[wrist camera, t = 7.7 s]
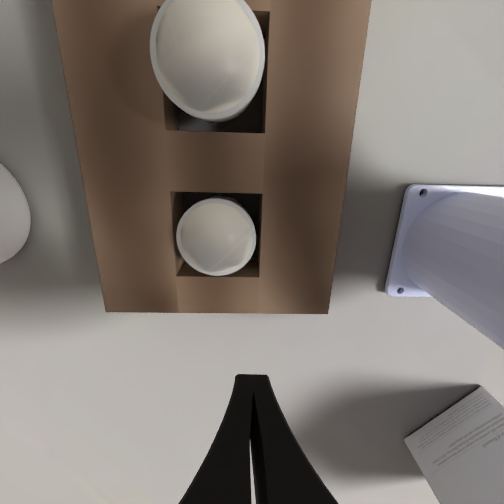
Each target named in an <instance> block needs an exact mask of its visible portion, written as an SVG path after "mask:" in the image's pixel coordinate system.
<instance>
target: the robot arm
mask: <svg viewBox="0 0 504 504" xmlns="http://www.w3.org/2000/svg"><path fill="white" fill-rule="evenodd" d="M422 189H423V190H424V193H423V194H422V195H421V196H420V195H419V193H420V191H421V190H422ZM398 288H401V290H399V291H397V290H398ZM385 292H386V293H387V294H388V295H389V296H402V297H433V298H435V299H436V300H437V301H439V302H440V303H441V304H443V305H444V306H445V307H447V308H448V309H450V310H451V311H452V312H454V313H455V314H456V315H458V316H459V317H460V318H462V319H463V320H464V321H466V322H467V323H469V324H470V325H471V326H473V327H474V328H475V329H477V330H478V331H479V332H481V333H482V334H483V335H485V336H486V337H488V338H489V339H490V340H492V341H493V342H494V343H496V344H497V345H498V346H500V347H501V348H502V349H504V187H500V186H462V185H423V184H413V185H410V186H408V188H407V189H406V191H405V195H404V200H403V204H402V209H401V214H400V219H399V223H398V228H397V233H396V237H395V242H394V247H393V252H392V256H391V261H390V266H389V271H388V275H387V280H386V285H385ZM250 442H251V453H252V464H253V475H254V486H255V497H256V504H338V502H337V501H336V500H335V498H334V497H333V496H332V494H331V493H330V492H329V490H328V489H327V488H326V486H325V485H324V483H323V482H322V480H321V479H320V477H319V476H318V474H317V473H316V472H315V470H314V469H313V467H312V465H311V464H310V462H309V461H308V459H307V457H306V456H305V454H304V453H303V451H302V449H301V447H300V446H299V444H298V442H297V440H296V439H295V437H294V435H293V433H292V431H291V429H290V427H289V425H288V423H287V421H286V419H285V417H284V415H283V413H282V411H281V409H280V407H279V404H278V402H277V400H276V397H275V395H274V392H273V389H272V387H271V384H270V380H269V377H268V376H267V375H250V374H238V375H236V376H235V383H234V388H233V392H232V395H231V398H230V402H229V405H228V407H227V410H226V413H225V415H224V418H223V421H222V423H221V425H220V428H219V430H218V432H217V434H216V437H215V439H214V441H213V443H212V445H211V447H210V450H209V452H208V454H207V455H206V457H205V459H204V461H203V463H202V465H201V467H200V469H199V470H198V472H197V474H196V476H195V477H194V479H193V481H192V483H191V485H190V486H189V488H188V490H187V491H186V493H185V495H184V496H183V498H182V499H181V501H180V502H179V504H251V478H250Z"/></svg>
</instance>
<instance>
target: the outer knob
mask: <svg viewBox="0 0 504 504" xmlns="http://www.w3.org/2000/svg"><path fill="white" fill-rule="evenodd" d="M176 239H177V245H178V249H179V251H180V253H181V255H182V257H183V258H184V260H185V261H186V262H187V263H188V264H189V265H190V266H191V267H193V268H194V269H196V270H197V271H199V272H202V273H204V274H208V275H214V276H222V275H228V274H231V273H233V272H236V271H237V270H239V269H241V268H242V267H243V266H244V265H245V264H246V263H247V262H248V261H249V260H250V258H251V256H252V255H253V252H254V250H255V245H256V232H255V227H254V223H253V221H252V219H251V217H250V215H249V214H248V212H247V210H246V208H245V207H244V206H243V205H242V204H241V203H240V202H239V201H237V200H236V199H234V198H231V197H228V196H222V195H217V196H212V197H209V198H207V199H204V200H201V201H199V202H197V203H196V204H194V205H193V206H192V207H190V208H189V209H188V210H187V211H186V212H185V213H184V215H183V216H182V218H181V219H180V222H179V224H178V227H177V233H176Z"/></svg>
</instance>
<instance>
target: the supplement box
mask: <svg viewBox="0 0 504 504" xmlns="http://www.w3.org/2000/svg"><path fill="white" fill-rule="evenodd" d="M404 441H405V443H406V445H407V447H408V449H409V450H410V452H411V454H412V455H413V457H414V459H415V461H416V463H417V464H418V466H419V468H420V470H421V471H422V473H423V475H424V477H425V478H426V480H427V482H428V484H429V485H430V487H431V489H432V491H433V493H434V494H435V496H436V498H437V500H438V501H439V503H440V504H504V405H503V404H502V403H501V402H500V401H499V400H498V399H497V398H495V397H494V396H493V395H492V394H491V393H490V392H489V391H488V390H487V389H485V388H484V387H483V386H481V387H479V388H478V389H476V390H475V391H474V392H472V393H471V394H469V395H468V396H466V397H465V398H463V399H462V400H461V401H459V402H458V403H456V404H455V405H453V406H452V407H450V408H449V409H447V410H446V411H444V412H443V413H442V414H440V415H439V416H437V417H436V418H434V419H433V420H431V421H430V422H429V423H427V424H426V425H424V426H423V427H421V428H420V429H418V430H417V431H416V432H414V433H413V434H411V435H410V436H408V437H406V438H405V439H404Z"/></svg>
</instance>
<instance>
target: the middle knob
mask: <svg viewBox="0 0 504 504" xmlns="http://www.w3.org/2000/svg"><path fill="white" fill-rule="evenodd" d="M150 56H151V62H152V66H153V70H154V73H155V76H156V78H157V80H158V82H159V84H160V86H161V88H162V89H163V91H164V92H165V94H166V95H167V96H168V97H169V99H170V100H171V101H172V102H173V103H174V104H176V105H177V106H178V107H179V108H181V109H182V110H183V111H185V112H186V113H188V114H189V115H191V116H193V117H196V118H198V119H202V120H206V121H209V122H214V123H222V122H227V121H230V120H232V119H234V118H236V117H238V116H239V115H240V114H242V113H243V112H244V111H245V109H246V108H247V107H248V105H249V104H250V102H251V100H252V99H253V97H254V96H255V94H256V92H257V90H258V88H259V85H260V82H261V78H262V74H263V69H264V62H265V47H264V39H263V35H262V31H261V28H260V26H259V23H258V21H257V19H256V17H255V15H254V13H253V12H252V10H251V9H250V7H249V6H248V5H247V3H246V2H245V1H244V0H166V1H165V2H164V3H163V4H162V6H161V7H160V9H159V11H158V13H157V15H156V17H155V19H154V22H153V25H152V30H151V35H150Z"/></svg>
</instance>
